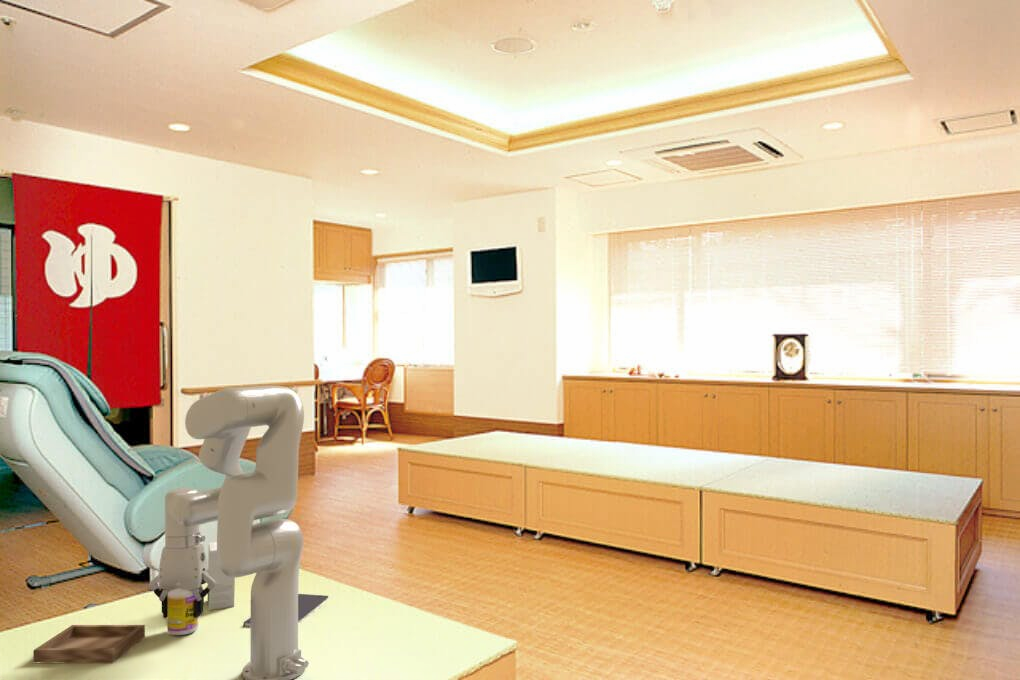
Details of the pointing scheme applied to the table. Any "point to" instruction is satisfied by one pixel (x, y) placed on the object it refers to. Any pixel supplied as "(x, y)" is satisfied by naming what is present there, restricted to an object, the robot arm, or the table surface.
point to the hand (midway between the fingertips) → (182, 615)
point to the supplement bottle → (181, 612)
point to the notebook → (303, 606)
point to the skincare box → (219, 583)
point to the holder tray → (90, 644)
